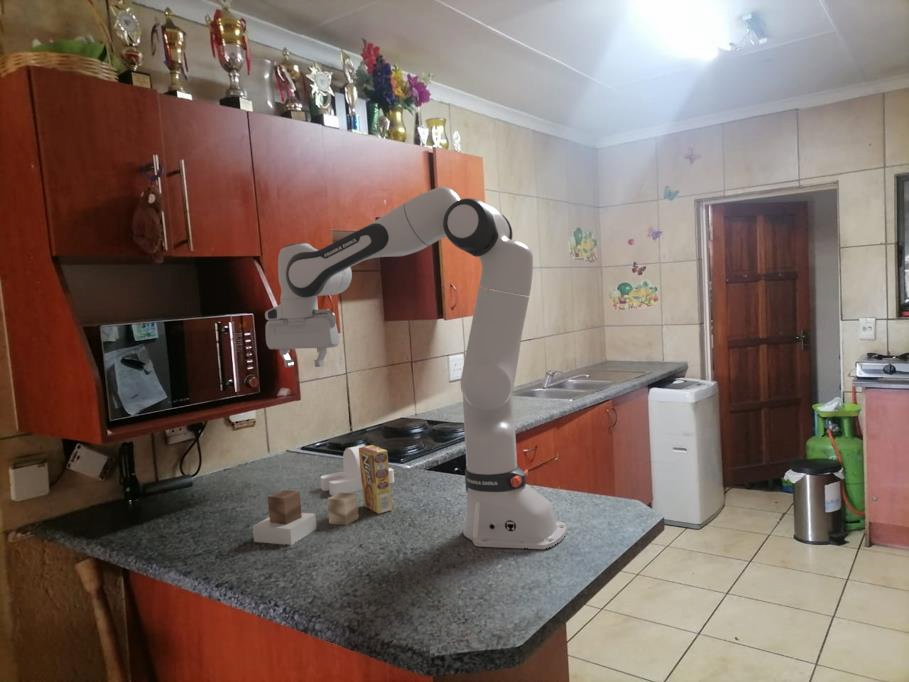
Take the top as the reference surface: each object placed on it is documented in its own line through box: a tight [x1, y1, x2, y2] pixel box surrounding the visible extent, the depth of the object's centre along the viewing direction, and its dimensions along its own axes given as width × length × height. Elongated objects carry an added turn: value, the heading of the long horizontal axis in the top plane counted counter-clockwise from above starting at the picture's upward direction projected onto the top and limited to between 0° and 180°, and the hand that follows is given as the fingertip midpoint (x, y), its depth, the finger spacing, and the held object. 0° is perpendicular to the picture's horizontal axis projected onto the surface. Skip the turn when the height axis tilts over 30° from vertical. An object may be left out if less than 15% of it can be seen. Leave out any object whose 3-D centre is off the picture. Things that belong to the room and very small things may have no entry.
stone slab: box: [252, 512, 317, 546], centre depth 149 cm, size 10×10×4 cm
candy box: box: [359, 444, 393, 514], centre depth 163 cm, size 9×4×15 cm, turn 33°
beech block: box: [326, 493, 359, 526], centre depth 156 cm, size 5×5×6 cm
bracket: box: [320, 445, 395, 497], centre depth 185 cm, size 19×10×11 cm, turn 124°
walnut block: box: [267, 489, 302, 525], centre depth 148 cm, size 5×5×6 cm
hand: (304, 366), depth 160 cm, fingers open, 8 cm apart
